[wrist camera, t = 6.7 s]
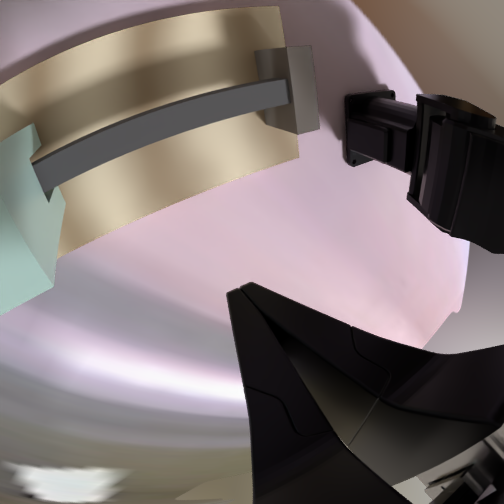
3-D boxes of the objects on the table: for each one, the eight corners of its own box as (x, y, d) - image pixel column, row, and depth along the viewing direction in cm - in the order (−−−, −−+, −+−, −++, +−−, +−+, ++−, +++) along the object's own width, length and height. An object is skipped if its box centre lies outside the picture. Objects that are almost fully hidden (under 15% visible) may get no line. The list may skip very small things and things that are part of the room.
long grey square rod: (290, 66, 15) (316, 67, 13) (295, 103, 16) (320, 108, 15) (-106, 262, 7) (-120, 283, 5) (-89, 290, 8) (-100, 313, 7)
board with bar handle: (268, 8, 14) (313, -3, 11) (289, 153, 21) (331, 171, 18) (-120, 199, 6) (-150, 229, 2) (-52, 315, 13) (-65, 359, 9)
